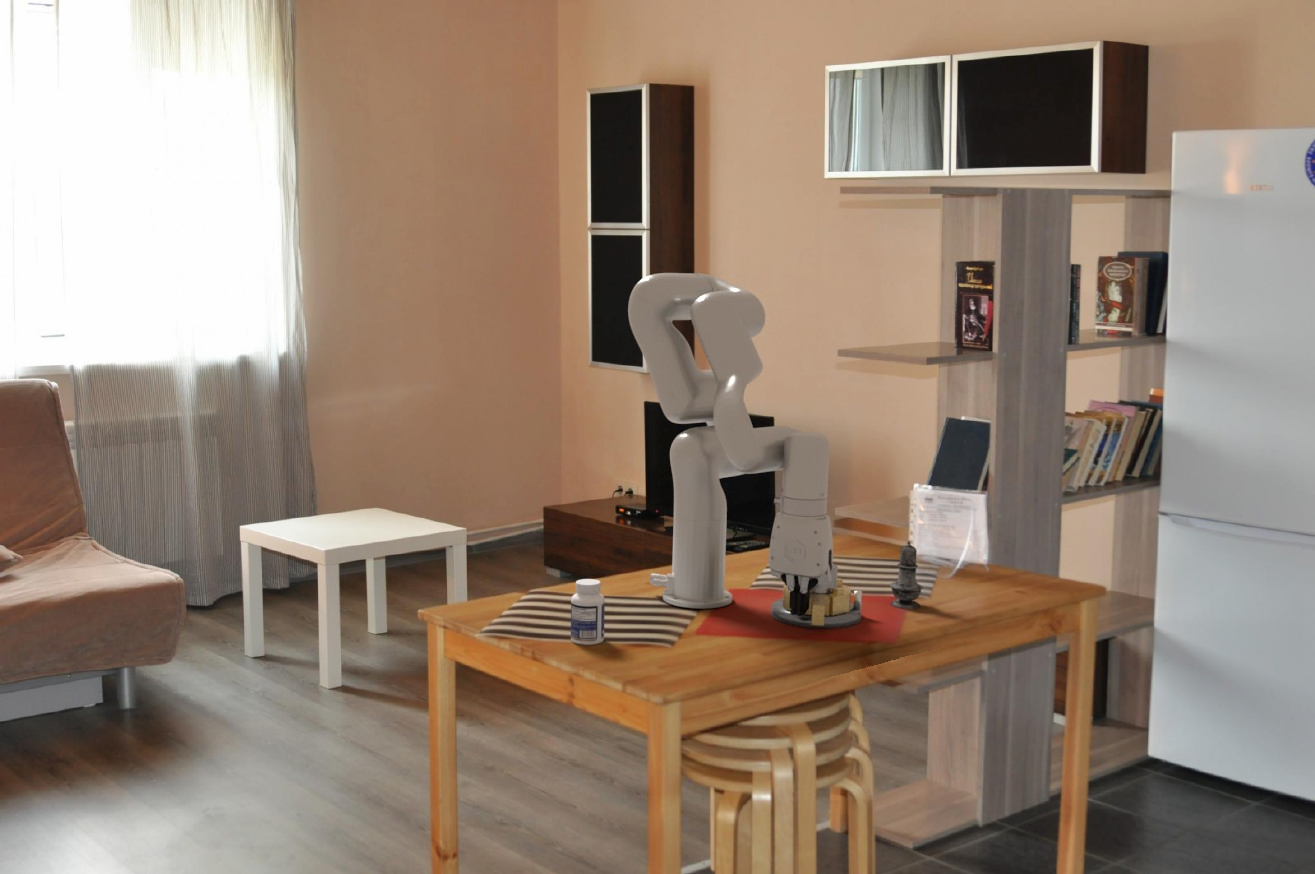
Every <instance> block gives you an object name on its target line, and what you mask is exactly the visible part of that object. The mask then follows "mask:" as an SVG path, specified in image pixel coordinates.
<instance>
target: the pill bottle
mask: <svg viewBox="0 0 1315 874" xmlns="http://www.w3.org/2000/svg"><path fill="white" fill-rule="evenodd" d="M601 585H602V583H601V581H600V580H598V579H593V578H582V579H577V580H576V581H575V591H576V593H574V594H573V595H572V596H571V599H570V640H571V642H572V643H575V644H578V645H584V646H592V645H593V646H594V645H597V644H601V643H602V642H603V641H604V640H605V609H606V608H605V606H606V605H605V604H606V603H605V602H606V601H605V597H604V595H603V594H602V593H600V592H601V589H602V588H601Z"/></svg>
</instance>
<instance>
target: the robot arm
mask: <svg viewBox="0 0 1315 874" xmlns="http://www.w3.org/2000/svg"><path fill="white" fill-rule="evenodd" d="M764 308H765V307H764V306H763V303H762V302H761V300H760V298H758V297H757V296H756V295H755V294H753V292H751V291H749V290H746V289H744V288H742V287H739V286H737V285H735V284H732V283H730V282H727V281H726V280H723V279H722V278H719V277H716V276H713V275H711V274H705V273H691V272H690V273H684V272H683V273H682V272H680V273H679V272H662V273H653V274H650V275H647V276H645V277H643V278H641V279H640V280H639V281H638V282H637V283H636V284H635V285H634V286H633V289H632V291H631V293H630V295H629V300H628V308H627V313H628V321H629V326H630V329H631V332H632V334H633V336H634V339H635V340H636V343H637V345H638V347H639V349H640V351H641V353H642V356H643V357H644V360H645V364H646V366H647V370H648V373H649V375H650V378H651V381H652V384H653V385H652V386H653V387H654V390H655V393H656V396H657V400H658V402H659V405H660V408H661V411H662V413H663V415H664V416H665V418H666V419H667V420H668V421H670V422H671V423H674V424H680V425H681V424H682V425H684V424H685V425H687V424H688V425H689V424H698V423H699V424H700V423H705V424H706V426H699V427H698V426H696V427H691V428H688V429H686V430H684V431H682V432H680V433H679V434H677V435H676V437H675V438H673V439H674V440H673V441H672V443H671V446H670V449H669V460H670V467H671V469H670V470H671V474H672V482H673V526H672V527H673V529H672V531H673V534H672V561H671V563H672V564H671V565H672V567H671V572H670V573H669V572H668V573H667V574H661V573H654V572H651V573H650V575H649V583H650V584H652V586H653V587H664V588H665V590H664V591H663V592H662V600H663V601H664V602H665V603H667V604H669V605H673V606H675V607H680V608H688V609H698V610H699V609H717V608H723V607H726V606H728V605H730V604H731V603H732V602H733V594H732V593H731V592H730V591H729V590H726V589H725V579H726V577H725V575H726V549H727V548H726V546H727V517H728V515H727V512H728V507H727V505H728V504H727V499H726V494H725V492H724V489H723V488H722V485H721V482H720V479H723V478H729V477H737V476H742V475H746V474H747V475H749V474H750V475H751V474H759V473H767V472H775V471H782V484H781V485H782V486H781V488H782V489H781V494H780V496H775V497H774V499H773V500H774V501H773V503H774V505H777V506H779V511H778V512H776V513H775V517H774V521H773V526H772V530H771V535H770V543H769V550H768V568H769V570H770V571H769V574H770V575H771V576H773V577H775V578H777V579H780V580H782V582H783V584H786V586H787V589H788V590H789V591H790V602H789V607H790V608H791V615H797V616H802V615H803V614H805V613H806V612H807V610H808V609H809V600H810V590H812V589H813V588H814V587H815V586H816V585H822V584H828V583H830V582H831V581H832V578H831V570H832V566H833V564H834V542H833V541H834V539H833V530H832V522H831V517H830V516H829V515H827V509H828V508H827V507H828V506H827V505H828V488H829V471H830V470H829V469H830V468H829V466H830V451H831V450H830V449H831V446H830V444H831V443H830V440H829V438H828V437H827V435H825V434H822V433H819V432H818V433H817V432H810V431H806V432H805V431H801V430H800V429H796V428H793V427H790V426H788V425H787V426H785V425H774V426H773V425H772V426H764V427H753V424H752V421H751V418H750V415H749V413H748V410H747V406H746V403H745V401H744V397H745V391H746V388H747V386H748V385H749V384H750V383H752V382H753V381H755V380H756V379H757V378H758V377H759V376H760V375H761V373H762V372H763V367H764V364H763V361H762V359H761V358H760V355H759V353H758V350H757V347H756V346H755V344H754V341H753V339H752V338H753V337H756V336H757V335H759V334H760V333H761V332H762V330H763V328H764V327H765V323H766V312H765V309H764ZM690 320H691V323H692V325H693V328H694V329H693V330H694V331H695V333H696V336H697V338H698V340H699V342H700V345H701V348H702V350H703V352H704V355H705V357H706V360H707V362H708V364H709V366H710V369H701V368H699V366H698V364H697V362H696V360H695V357H694V355H693V351H692V349H691V348H692V347H691V346H690V344H689V342H688V340H687V339H686V337H685V336H684V335H683V334H682V332H681V331H679V330H678V328H677V327H675V325H674V324H673V321H690ZM799 576H802V577H803V578H802V583H801V586H800V578H799ZM800 587H801V588H800Z"/></svg>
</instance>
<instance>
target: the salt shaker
mask: <svg viewBox="0 0 1315 874" xmlns="http://www.w3.org/2000/svg"><path fill="white" fill-rule="evenodd" d="M906 543H907V544H906V545H903V546H902V547H900V549H899V550H900V551H899V563H897V567H898V576H897V577H898V578H897V580H896V581H895V582H891V583H890V584H889V585H890V587H891V592H892V595H893V597H895V599H894V600H893V601H891V602H890V605H891V606H892V607H894V606H895V607H894V608H897V607H898V609H905V610H915V609H918V608H920V607H921V604H920V603H919V602H917V601H916V600H917V599H918V598H919V597H920V596H921V593H922V590H923V588H924V587H923V585H922V584H919V583H918V582H917V577H916V574H917V568H919V567H918V564H917V554H918V553H917V549H916V547H915V546H913V545H912V544H911V540H908V541H907V542H906Z"/></svg>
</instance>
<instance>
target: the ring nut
mask: <svg viewBox="0 0 1315 874" xmlns="http://www.w3.org/2000/svg"><path fill="white" fill-rule="evenodd" d="M843 582H844V581H843V579H842V578H840V577H839V578H838V577H837V587H836V588H832V594H828V595H826V594H810V600H809V609H808V610H807V612H806V613H805V614H808V615H811V621H812V625H822V626H824V615H827V616H829V614H830V615H837V614H841V613H846V612H849V611H850V604H851V603H852V602H851V601H852V597H851V596H852V591H851V587H850V586H848V585H845V584H843ZM800 588H801V587H800ZM782 594H783V595H782V599H783V607H784V608H785V609H788V610H791V608H790V607H789V602H790V591H789V590H788V589H787V586H786V584H785V583H783V591H782Z"/></svg>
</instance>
